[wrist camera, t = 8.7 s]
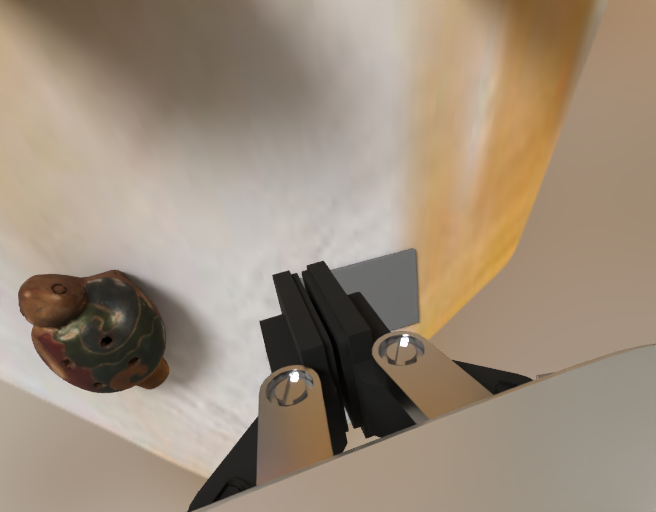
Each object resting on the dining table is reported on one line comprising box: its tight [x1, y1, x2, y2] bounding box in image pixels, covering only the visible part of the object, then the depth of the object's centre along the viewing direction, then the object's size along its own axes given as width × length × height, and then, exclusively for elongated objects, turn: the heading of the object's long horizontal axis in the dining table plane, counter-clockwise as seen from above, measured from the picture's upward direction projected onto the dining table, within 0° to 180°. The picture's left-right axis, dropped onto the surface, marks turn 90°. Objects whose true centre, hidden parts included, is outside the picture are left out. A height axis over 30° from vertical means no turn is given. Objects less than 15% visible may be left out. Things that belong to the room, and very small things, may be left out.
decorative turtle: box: [18, 270, 169, 393], centre depth 34 cm, size 10×15×8 cm, turn 32°
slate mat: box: [300, 248, 419, 331], centre depth 45 cm, size 15×10×1 cm, turn 98°
